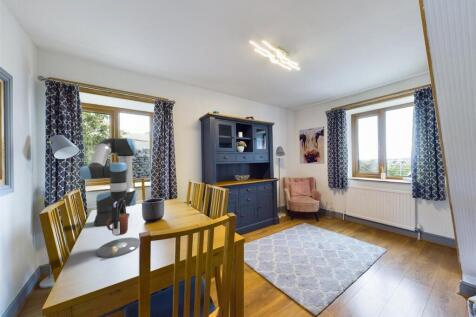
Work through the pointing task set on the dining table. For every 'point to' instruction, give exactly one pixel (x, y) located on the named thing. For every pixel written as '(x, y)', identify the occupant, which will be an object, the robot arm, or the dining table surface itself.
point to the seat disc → (118, 247)
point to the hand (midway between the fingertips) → (119, 230)
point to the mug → (120, 223)
